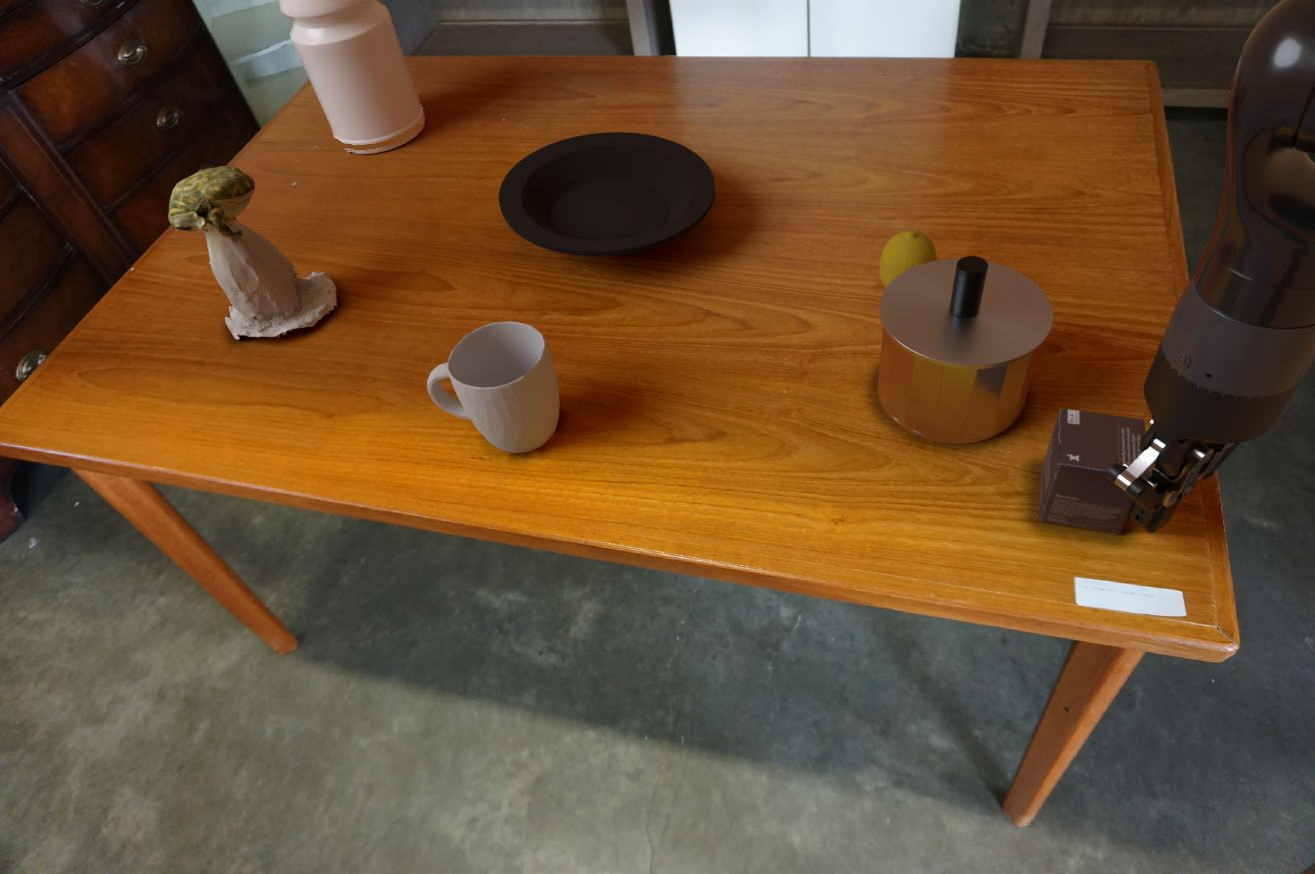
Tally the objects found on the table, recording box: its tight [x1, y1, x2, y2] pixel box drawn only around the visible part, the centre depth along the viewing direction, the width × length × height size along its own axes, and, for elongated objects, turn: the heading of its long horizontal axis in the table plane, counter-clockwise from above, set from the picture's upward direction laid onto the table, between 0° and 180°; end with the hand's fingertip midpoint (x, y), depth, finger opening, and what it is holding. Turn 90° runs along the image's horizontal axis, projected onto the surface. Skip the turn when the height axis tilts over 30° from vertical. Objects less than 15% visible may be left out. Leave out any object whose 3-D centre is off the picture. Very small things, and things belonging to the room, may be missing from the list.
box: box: [1038, 408, 1146, 535], centre depth 65 cm, size 6×6×7 cm
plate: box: [498, 131, 717, 258], centre depth 100 cm, size 28×24×6 cm
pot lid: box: [878, 255, 1054, 369], centre depth 69 cm, size 14×14×6 cm
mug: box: [426, 320, 561, 454], centre depth 78 cm, size 13×9×10 cm
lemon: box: [879, 230, 938, 289], centre depth 84 cm, size 6×6×8 cm
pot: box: [876, 327, 1042, 445], centre depth 74 cm, size 13×13×10 cm
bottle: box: [278, 0, 426, 155], centre depth 117 cm, size 14×14×28 cm
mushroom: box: [167, 165, 338, 340], centre depth 92 cm, size 12×13×18 cm
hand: (1147, 521), depth 63 cm, fingers closed
